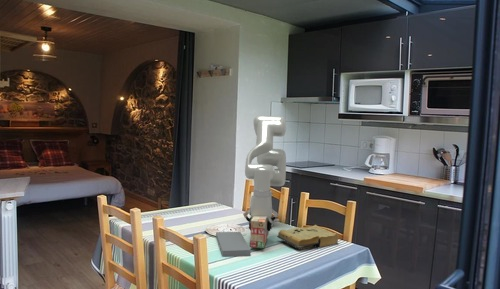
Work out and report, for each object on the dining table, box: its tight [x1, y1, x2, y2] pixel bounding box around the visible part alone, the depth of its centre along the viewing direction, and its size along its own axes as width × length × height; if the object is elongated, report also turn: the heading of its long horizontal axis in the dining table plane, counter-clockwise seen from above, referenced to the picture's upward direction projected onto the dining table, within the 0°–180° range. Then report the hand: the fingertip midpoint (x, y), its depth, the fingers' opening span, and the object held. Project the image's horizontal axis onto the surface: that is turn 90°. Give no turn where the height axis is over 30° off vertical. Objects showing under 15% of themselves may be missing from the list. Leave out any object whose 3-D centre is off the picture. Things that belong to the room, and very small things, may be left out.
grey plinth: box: [215, 231, 252, 258], centre depth 174 cm, size 12×26×2 cm, turn 11°
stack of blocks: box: [249, 216, 270, 249], centre depth 178 cm, size 21×6×12 cm, turn 171°
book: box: [276, 224, 339, 250], centre depth 183 cm, size 25×17×6 cm
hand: (260, 230), depth 178 cm, fingers closed on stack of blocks, 7 cm apart
